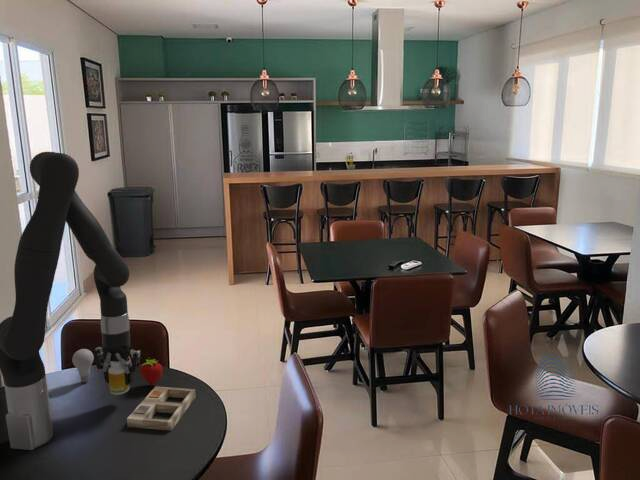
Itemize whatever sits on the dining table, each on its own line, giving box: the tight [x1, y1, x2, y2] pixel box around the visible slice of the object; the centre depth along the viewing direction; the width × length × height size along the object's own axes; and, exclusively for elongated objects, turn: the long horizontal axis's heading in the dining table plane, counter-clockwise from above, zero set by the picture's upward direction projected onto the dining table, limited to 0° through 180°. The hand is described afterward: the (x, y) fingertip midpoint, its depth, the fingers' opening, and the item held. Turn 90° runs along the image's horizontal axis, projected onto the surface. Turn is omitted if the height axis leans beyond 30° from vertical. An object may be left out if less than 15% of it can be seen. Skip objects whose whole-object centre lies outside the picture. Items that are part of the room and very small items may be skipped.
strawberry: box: [139, 358, 164, 387], centre depth 161 cm, size 6×8×10 cm
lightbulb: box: [71, 348, 95, 383], centre depth 164 cm, size 6×6×11 cm
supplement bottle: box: [108, 361, 130, 396], centre depth 150 cm, size 5×5×10 cm
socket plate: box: [126, 385, 197, 432], centre depth 148 cm, size 18×12×3 cm
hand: (119, 382), depth 151 cm, fingers closed on supplement bottle, 5 cm apart
